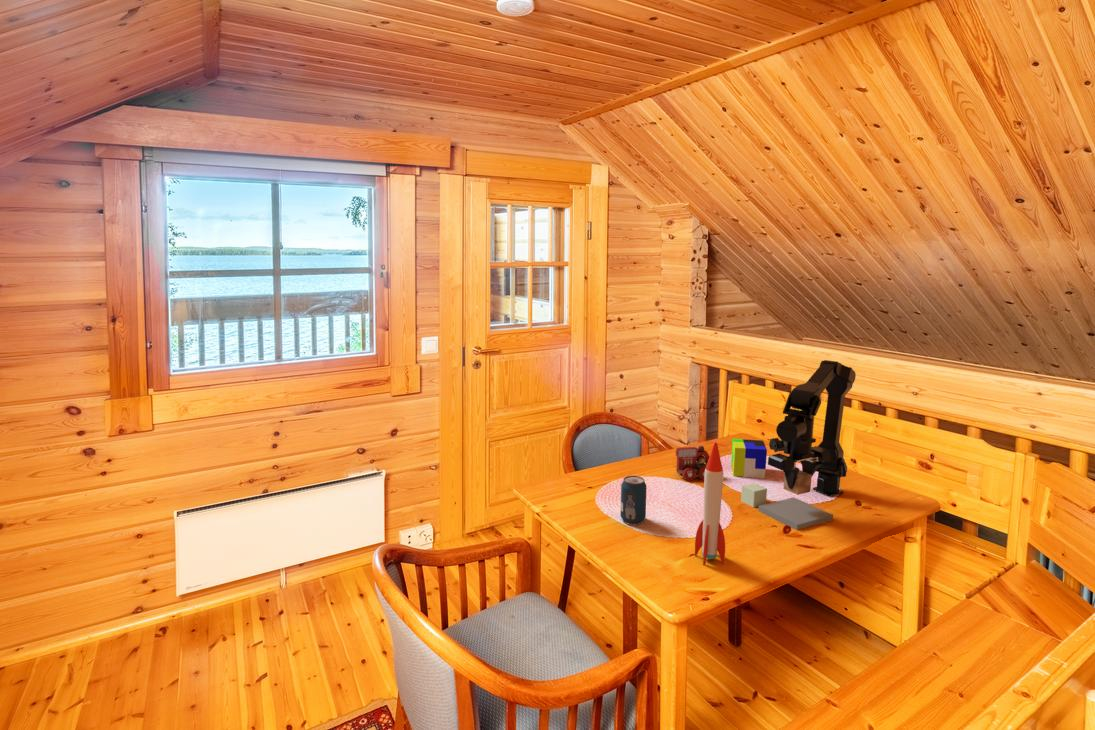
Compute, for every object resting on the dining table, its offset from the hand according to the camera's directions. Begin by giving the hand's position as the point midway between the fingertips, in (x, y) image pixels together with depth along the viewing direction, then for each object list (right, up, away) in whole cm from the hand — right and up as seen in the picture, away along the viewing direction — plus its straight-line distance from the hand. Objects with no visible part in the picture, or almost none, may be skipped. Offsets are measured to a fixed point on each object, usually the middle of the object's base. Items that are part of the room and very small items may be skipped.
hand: (797, 486), depth 179 cm
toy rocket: (-31, -13, -24) cm, 41 cm away
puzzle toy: (-3, -2, +35) cm, 36 cm away
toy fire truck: (-22, -3, +31) cm, 39 cm away
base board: (0, -8, +2) cm, 9 cm away
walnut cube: (0, -1, 0) cm, 1 cm away
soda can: (-47, -9, -2) cm, 47 cm away
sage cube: (-9, -7, +10) cm, 15 cm away
